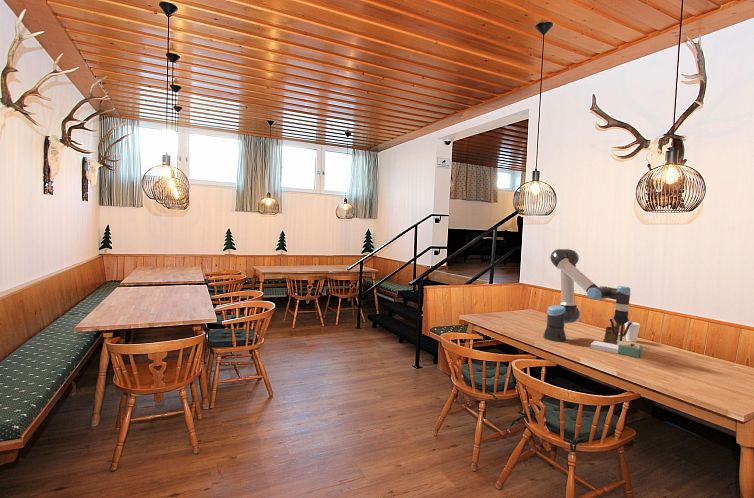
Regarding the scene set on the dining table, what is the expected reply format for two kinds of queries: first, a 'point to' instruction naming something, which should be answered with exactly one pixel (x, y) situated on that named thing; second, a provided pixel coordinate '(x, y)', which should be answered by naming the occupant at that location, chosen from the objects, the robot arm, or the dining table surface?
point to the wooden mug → (610, 335)
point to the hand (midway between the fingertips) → (618, 345)
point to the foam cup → (632, 331)
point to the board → (604, 347)
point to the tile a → (625, 344)
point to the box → (630, 351)
